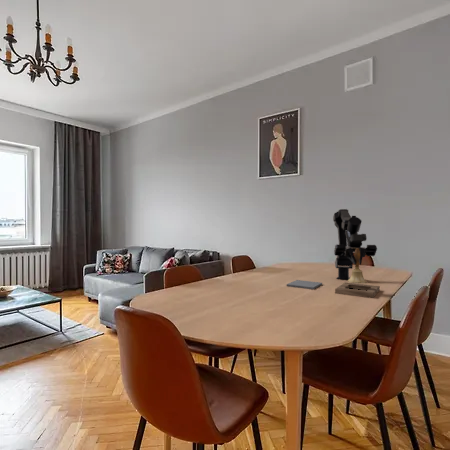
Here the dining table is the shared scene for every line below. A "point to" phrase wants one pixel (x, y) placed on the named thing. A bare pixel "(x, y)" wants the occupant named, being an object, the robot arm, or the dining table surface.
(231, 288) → the dining table surface
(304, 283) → the grey rubber mat
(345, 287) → the walnut well board
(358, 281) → the hand bell
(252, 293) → the dining table surface
